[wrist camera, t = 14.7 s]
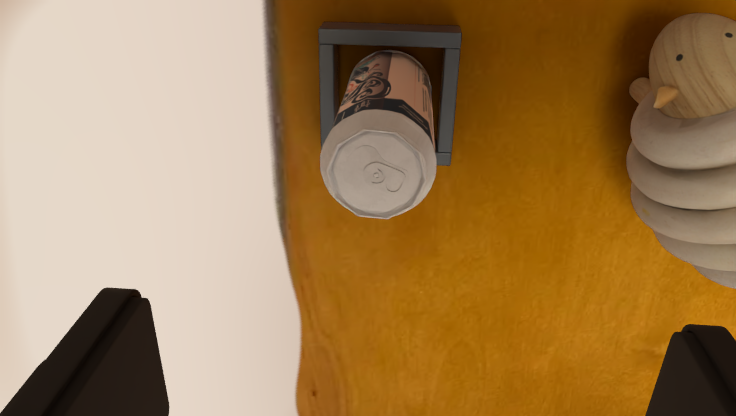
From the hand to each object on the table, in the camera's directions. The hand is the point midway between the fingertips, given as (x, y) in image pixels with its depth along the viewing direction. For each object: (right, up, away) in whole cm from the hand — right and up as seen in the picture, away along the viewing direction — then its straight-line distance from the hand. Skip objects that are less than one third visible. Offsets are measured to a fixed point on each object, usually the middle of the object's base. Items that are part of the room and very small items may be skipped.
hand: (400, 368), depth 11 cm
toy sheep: (+18, +7, +23) cm, 30 cm away
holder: (+1, +10, +23) cm, 25 cm away
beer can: (+1, +10, +24) cm, 26 cm away
